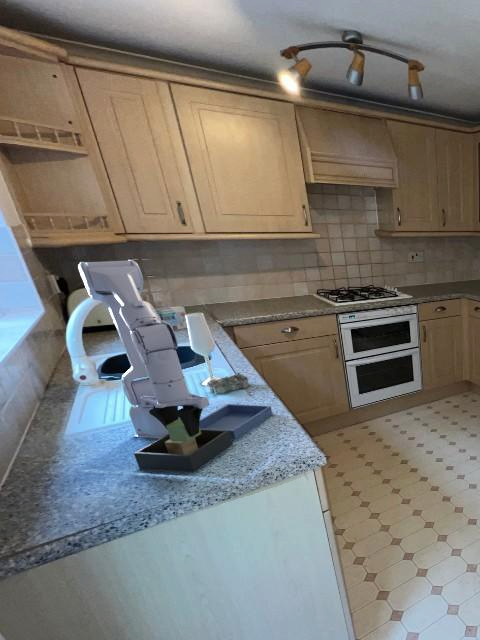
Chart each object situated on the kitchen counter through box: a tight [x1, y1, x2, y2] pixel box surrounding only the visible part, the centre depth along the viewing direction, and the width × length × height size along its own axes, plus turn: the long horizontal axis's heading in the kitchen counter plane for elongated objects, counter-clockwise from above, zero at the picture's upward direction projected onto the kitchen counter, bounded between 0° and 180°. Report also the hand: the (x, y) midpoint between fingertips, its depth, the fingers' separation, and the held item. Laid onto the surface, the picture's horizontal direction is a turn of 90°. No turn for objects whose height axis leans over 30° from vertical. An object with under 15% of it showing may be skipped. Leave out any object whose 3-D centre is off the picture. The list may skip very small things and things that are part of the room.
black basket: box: [133, 429, 234, 473], centre depth 96 cm, size 13×12×4 cm
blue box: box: [199, 403, 273, 441], centre depth 111 cm, size 13×15×3 cm
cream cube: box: [165, 438, 198, 455], centre depth 97 cm, size 4×4×4 cm
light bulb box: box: [154, 305, 188, 332], centre depth 205 cm, size 11×7×11 cm, turn 159°
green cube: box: [166, 418, 201, 442], centre depth 93 cm, size 4×4×4 cm
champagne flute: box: [186, 312, 222, 387], centre depth 137 cm, size 7×7×24 cm
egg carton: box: [207, 372, 250, 395], centre depth 135 cm, size 11×8×4 cm
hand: (185, 434), depth 93 cm, fingers closed on green cube, 4 cm apart
